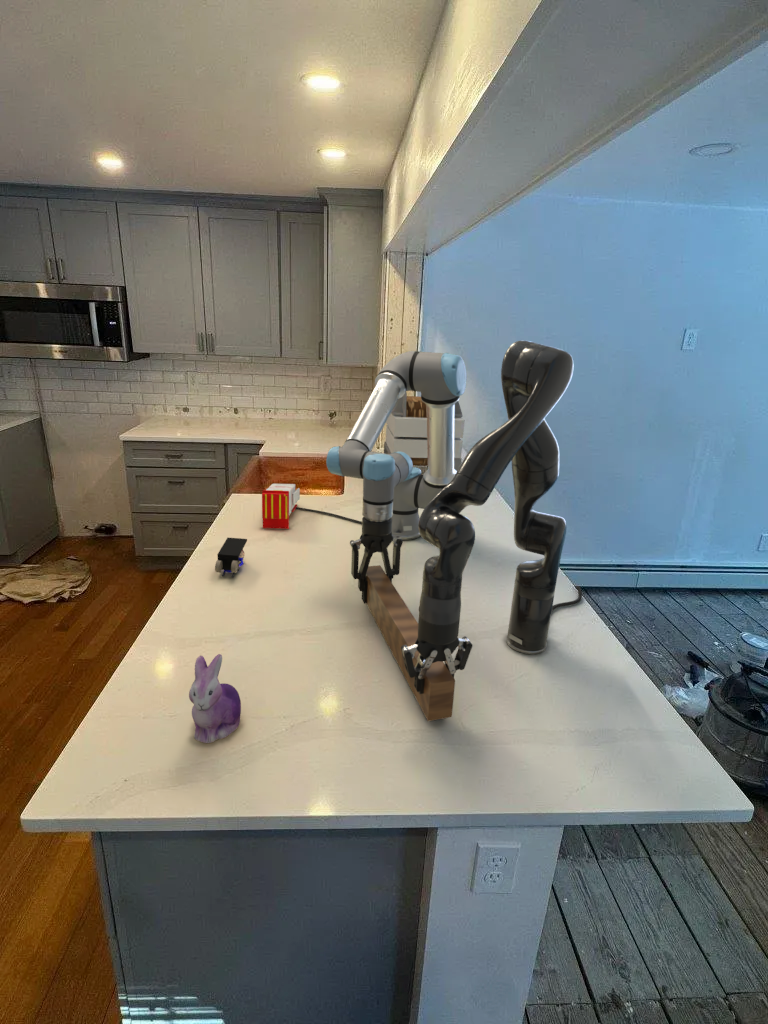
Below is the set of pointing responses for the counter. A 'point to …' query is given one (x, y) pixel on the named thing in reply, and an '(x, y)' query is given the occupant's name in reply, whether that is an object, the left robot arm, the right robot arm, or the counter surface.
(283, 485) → the toy
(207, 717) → the figurine
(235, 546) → the figurine character
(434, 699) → the beam
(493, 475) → the right robot arm
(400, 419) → the slatted crate
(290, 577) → the counter surface
